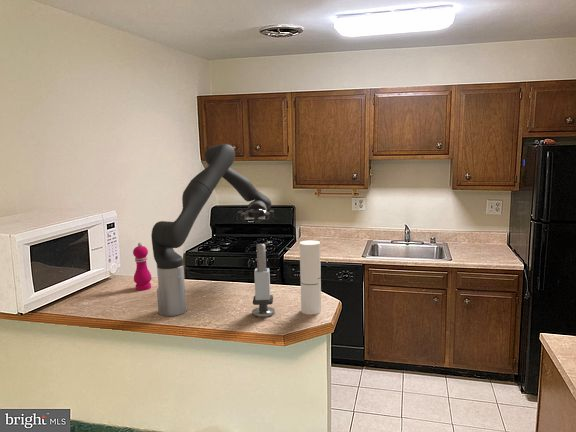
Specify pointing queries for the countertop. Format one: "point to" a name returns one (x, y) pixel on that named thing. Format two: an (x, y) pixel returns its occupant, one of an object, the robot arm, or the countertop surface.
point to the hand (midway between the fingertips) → (254, 217)
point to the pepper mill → (141, 268)
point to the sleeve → (262, 285)
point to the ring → (263, 301)
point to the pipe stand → (261, 263)
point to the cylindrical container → (310, 277)
